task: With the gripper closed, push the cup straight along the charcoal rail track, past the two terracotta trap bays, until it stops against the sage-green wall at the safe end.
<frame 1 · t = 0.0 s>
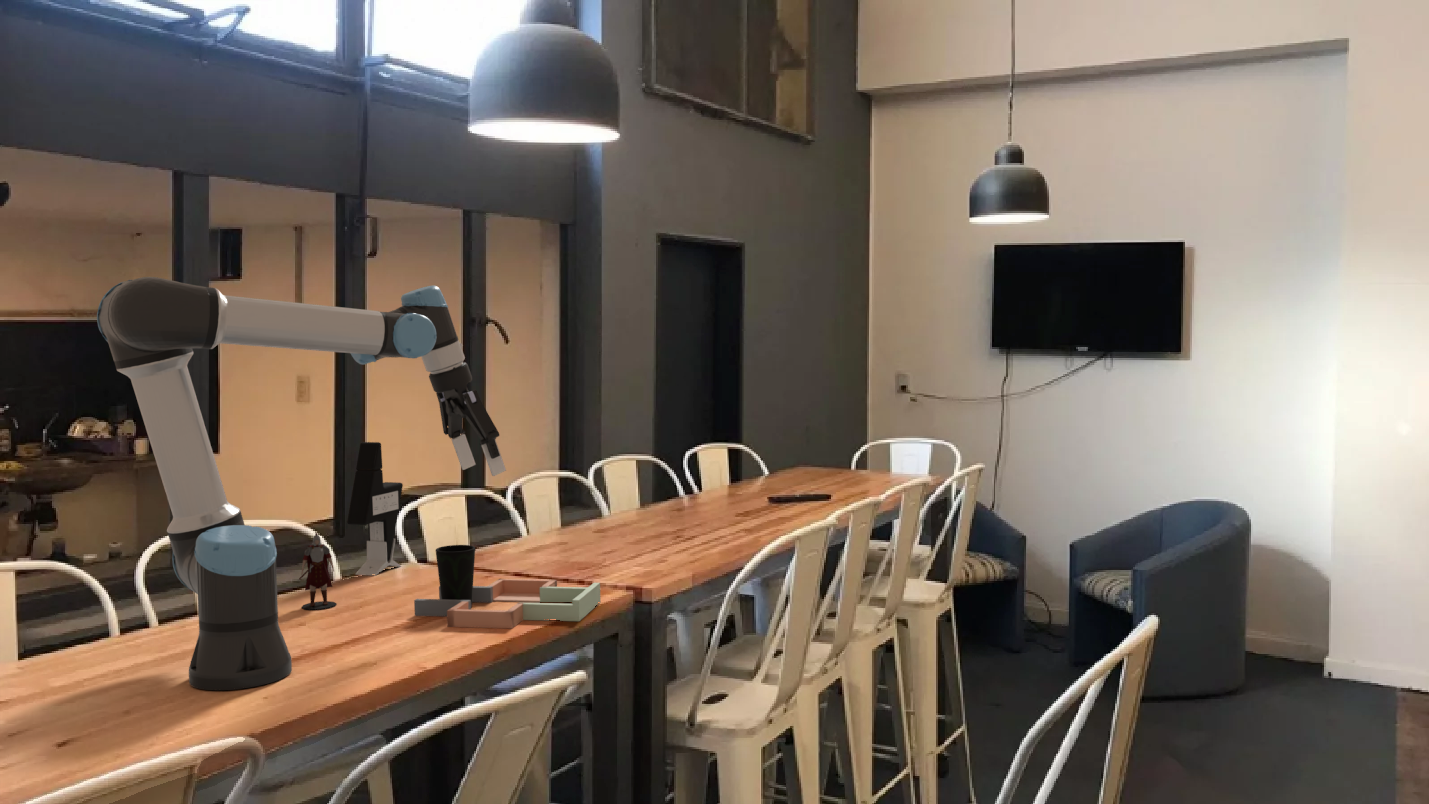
hand: (483, 470, 218), 28 cm above the table, tool tilted 20°, fingers open, 13 cm apart
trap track: (505, 609, 222), on the table
figurine: (319, 607, 227), on the table
cup: (457, 609, 223), on the table
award: (377, 571, 261), on the table
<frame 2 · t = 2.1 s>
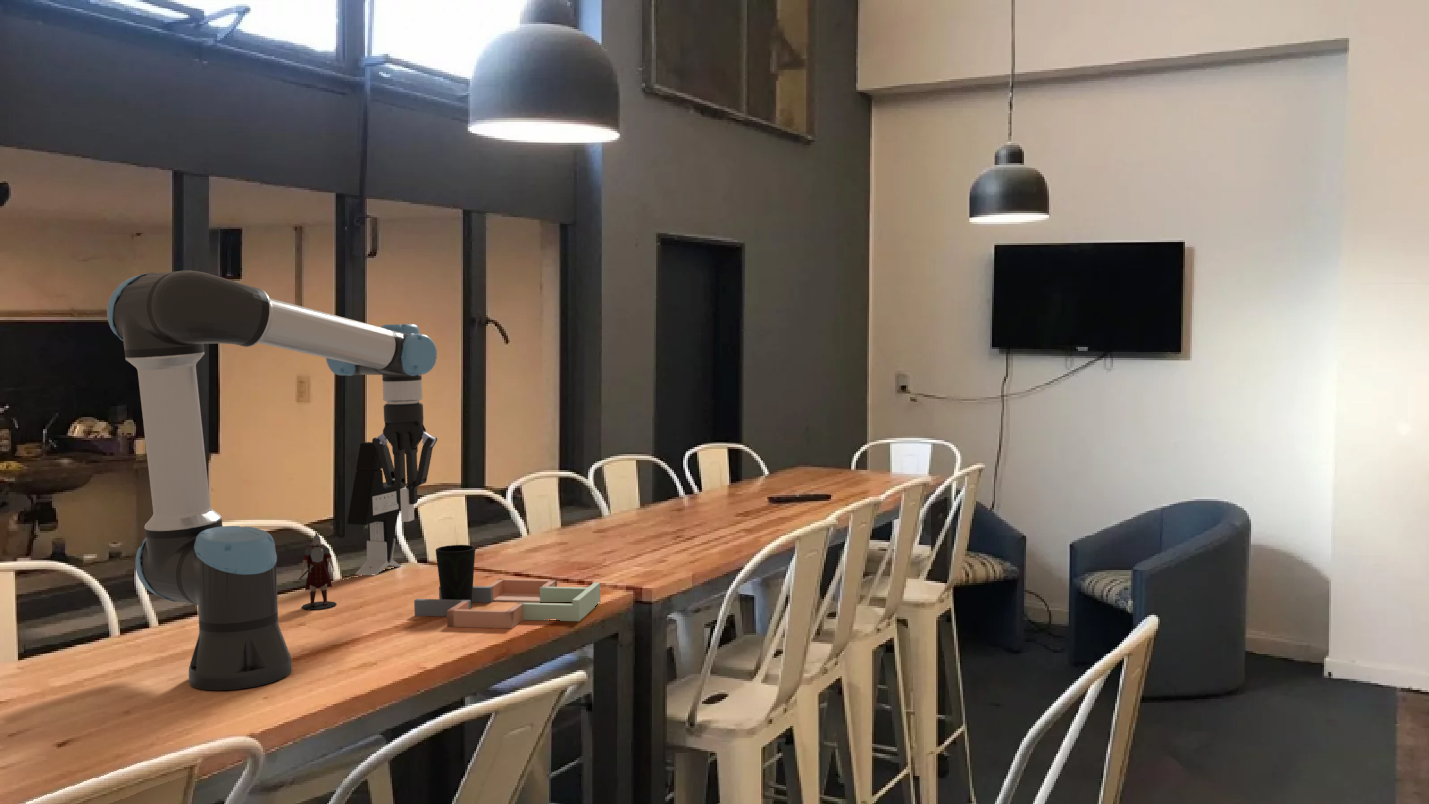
hand: (407, 520, 224), 17 cm above the table, tool pointing down, fingers closed
nothing on the table moved.
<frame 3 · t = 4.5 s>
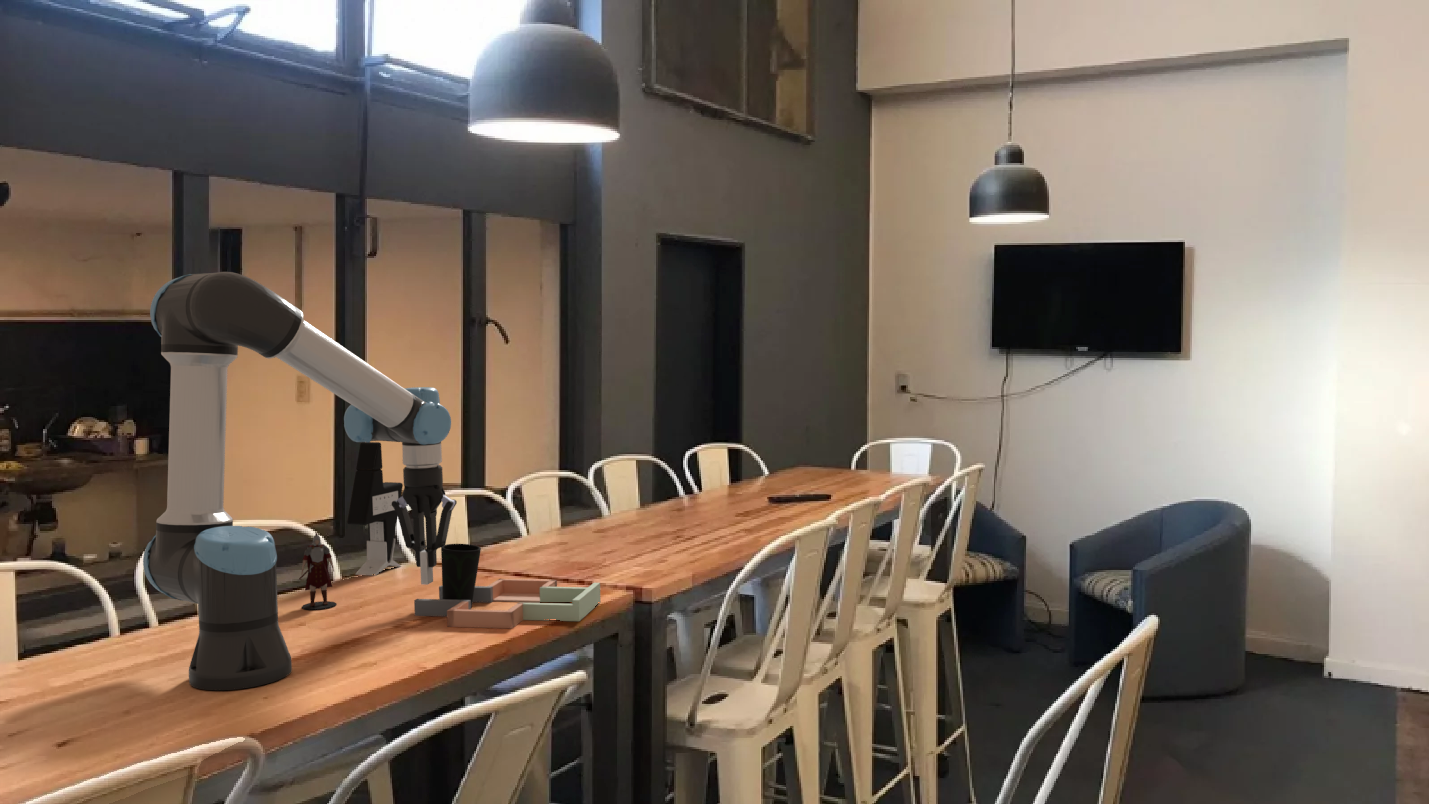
hand: (427, 582, 224), 5 cm above the table, tool pointing down, fingers closed
cup: (457, 608, 223), on the table, touching hand
everything else where it was.
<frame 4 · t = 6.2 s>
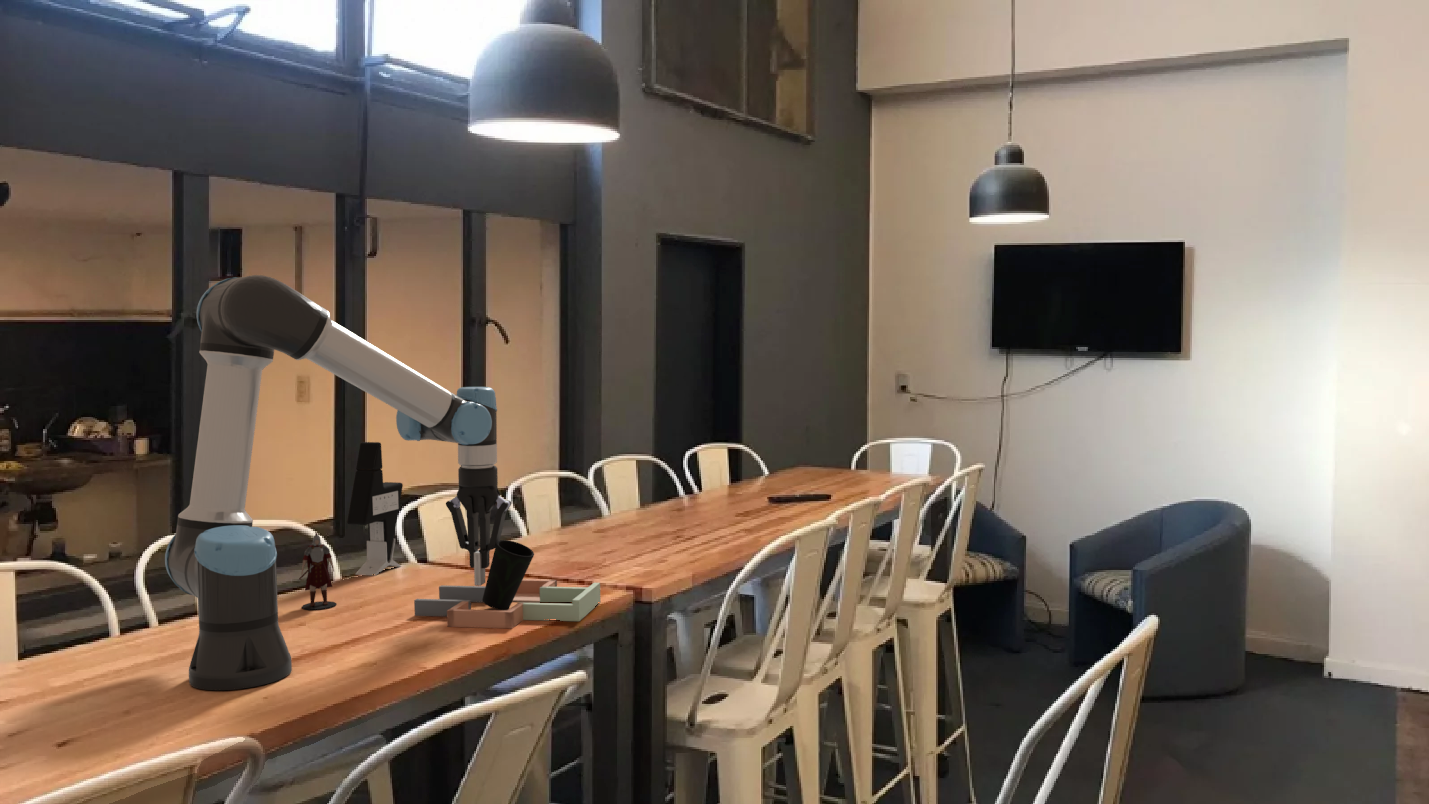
hand: (480, 583, 223), 5 cm above the table, tool pointing down, fingers closed
cup: (495, 604, 222), point 1 cm above the table, touching gripper, hand
everything else where it was.
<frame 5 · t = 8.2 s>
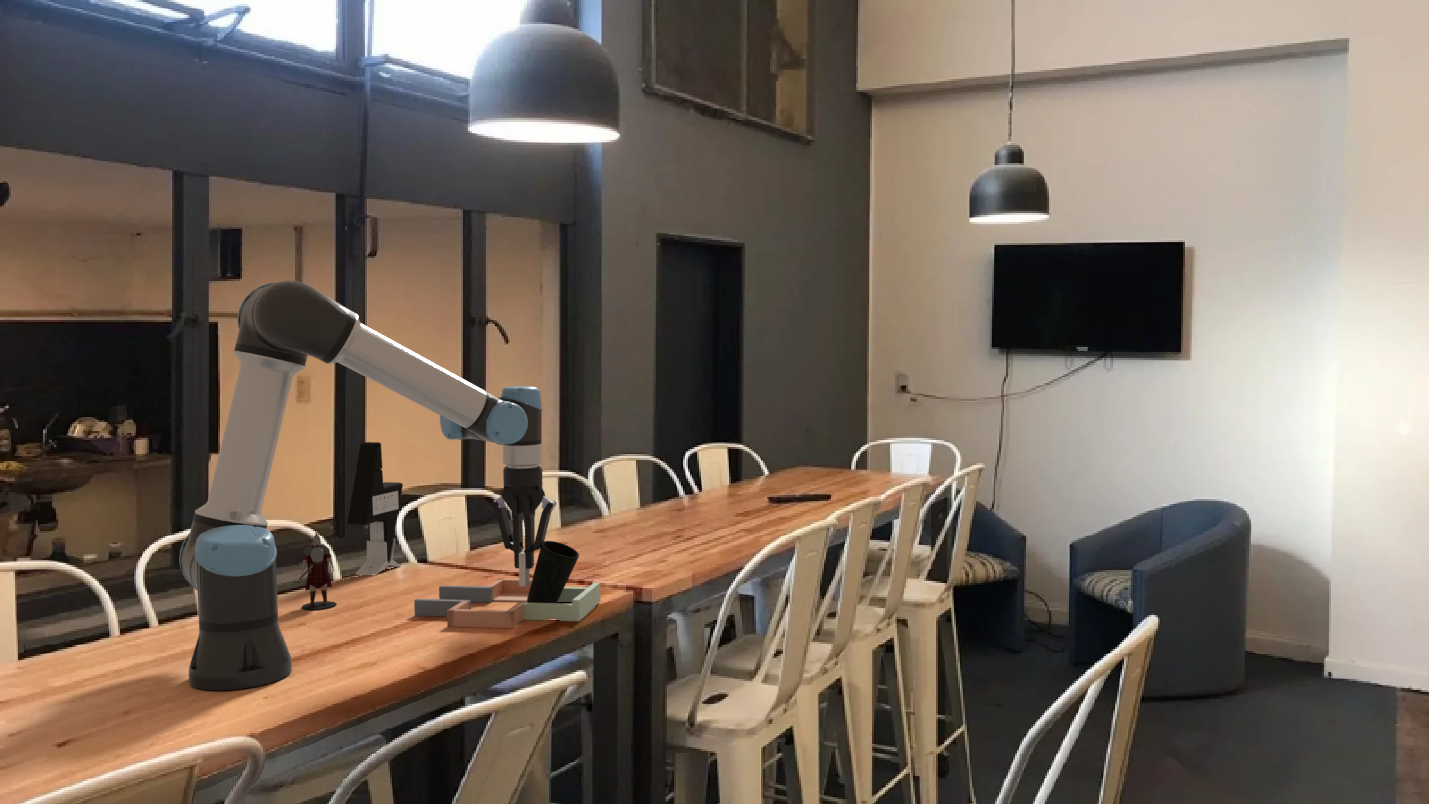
hand: (524, 584, 221), 5 cm above the table, tool pointing down, fingers closed
cup: (540, 605, 221), point 1 cm above the table, touching gripper, hand
everything else where it was.
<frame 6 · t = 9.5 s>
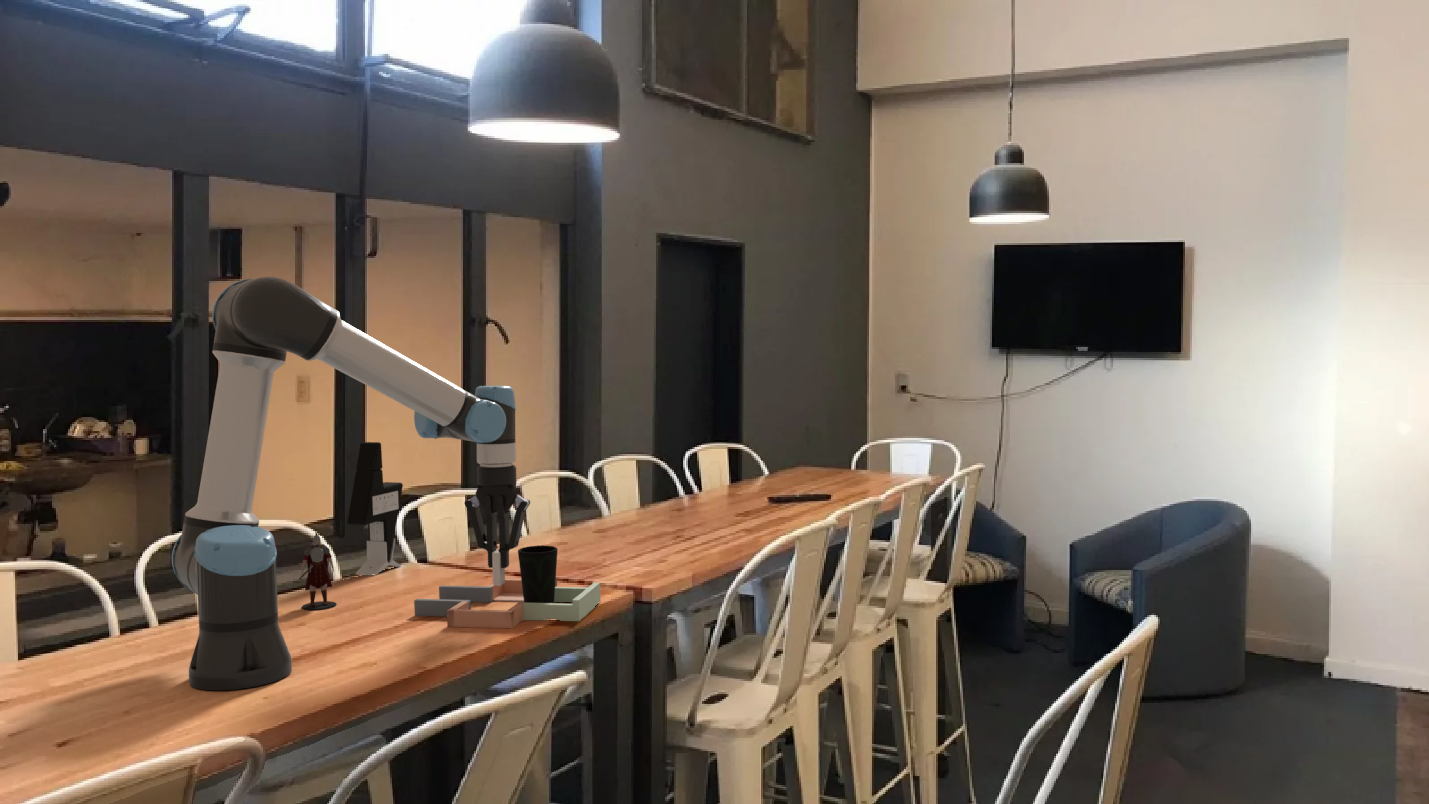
hand: (498, 584, 221), 5 cm above the table, tool pointing down, fingers closed
cup: (539, 610, 221), on the table
everything else where it was.
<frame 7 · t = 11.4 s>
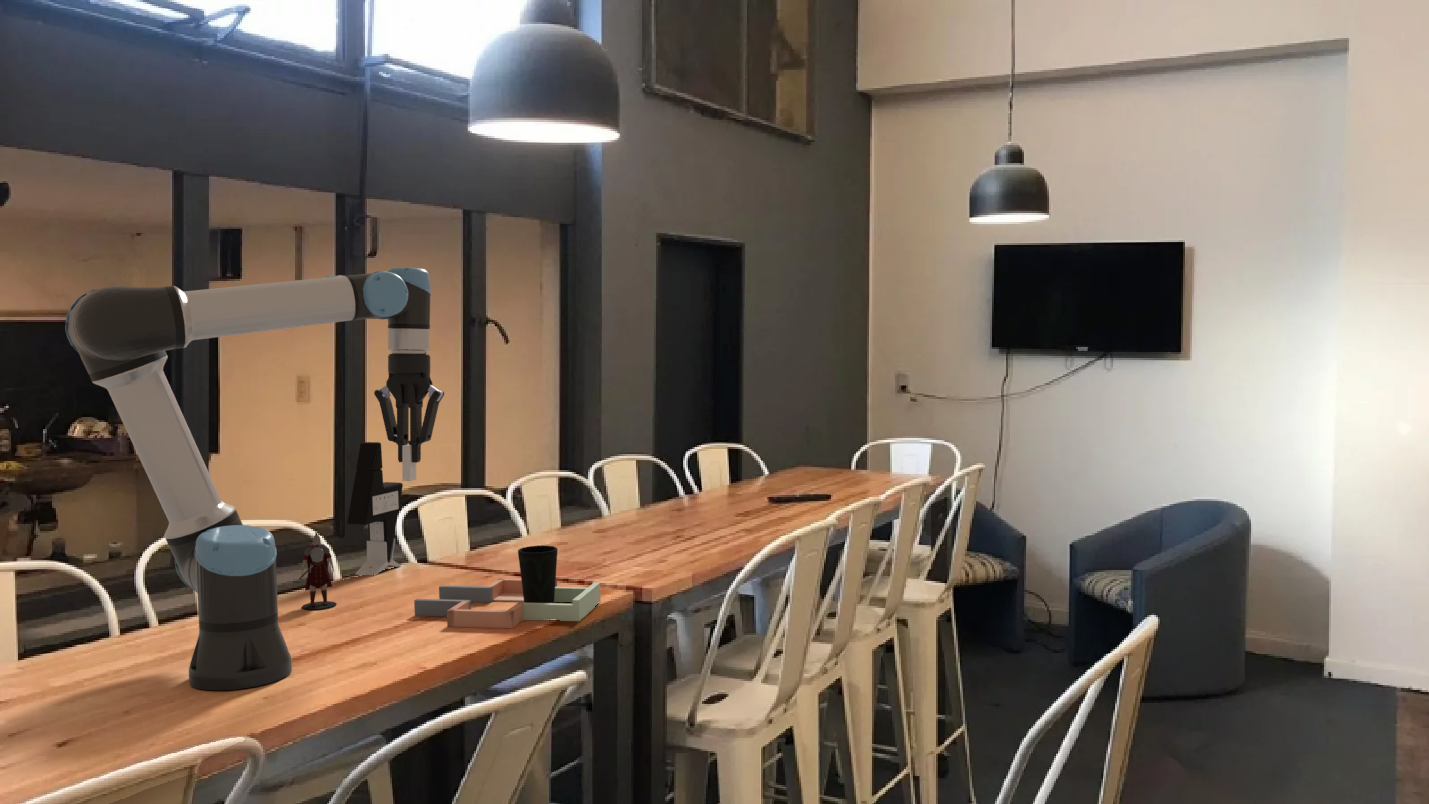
hand: (409, 480, 208), 27 cm above the table, tool pointing down, fingers closed
nothing on the table moved.
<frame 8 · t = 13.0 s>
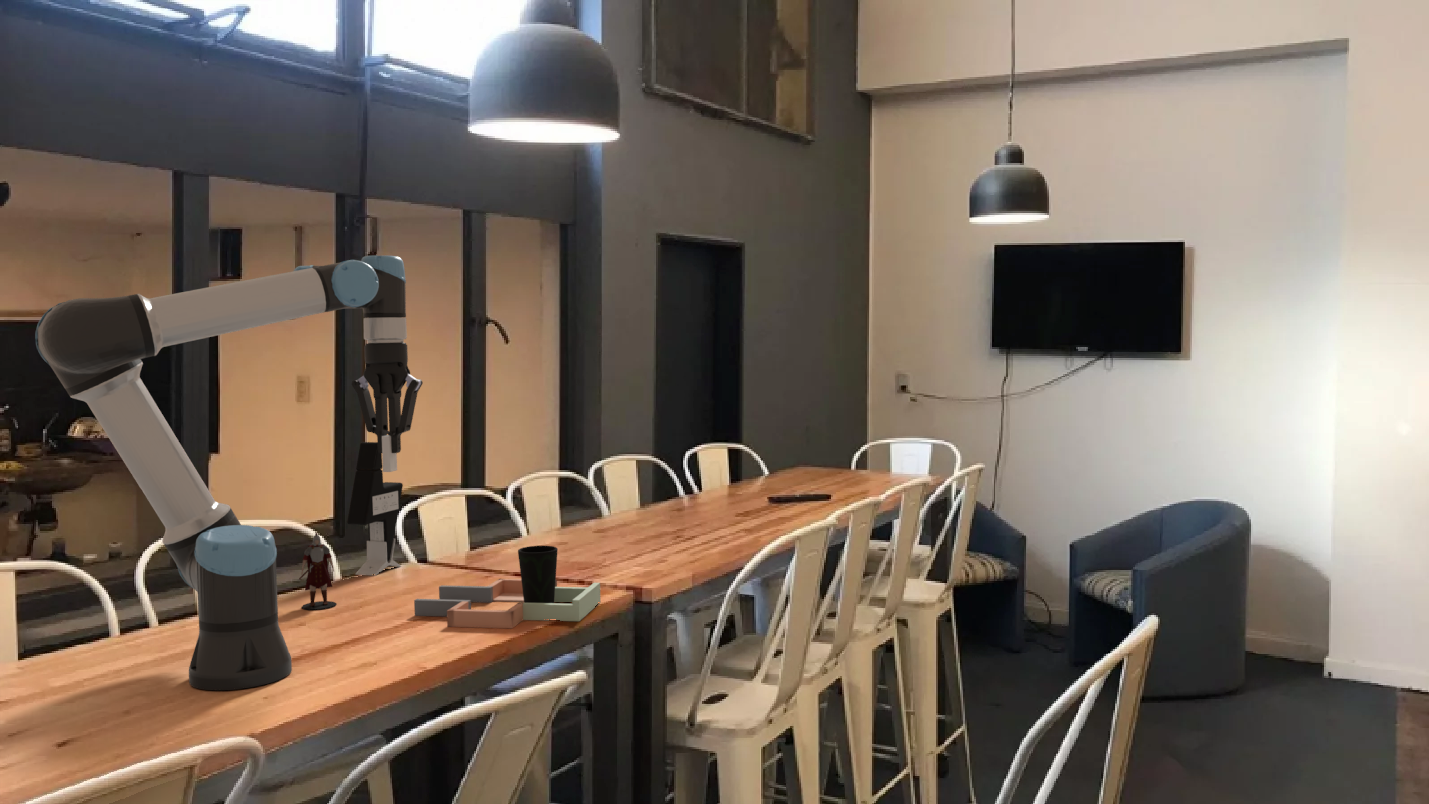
hand: (390, 470, 206), 29 cm above the table, tool pointing down, fingers closed
nothing on the table moved.
at the end: cup inside the target area (3.7 cm from its centre), on the table; cup tilted 0° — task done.
